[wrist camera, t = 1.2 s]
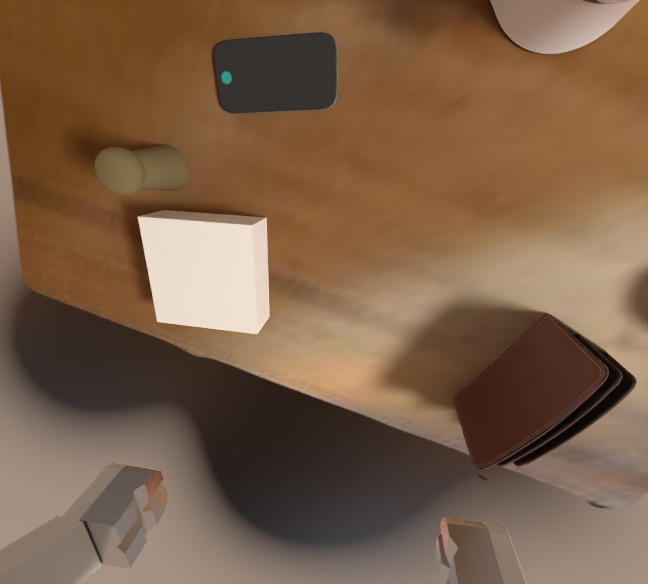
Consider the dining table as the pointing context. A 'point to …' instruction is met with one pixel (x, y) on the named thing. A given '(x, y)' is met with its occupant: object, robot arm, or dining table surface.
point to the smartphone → (277, 73)
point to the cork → (141, 169)
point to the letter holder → (539, 395)
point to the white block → (207, 269)
